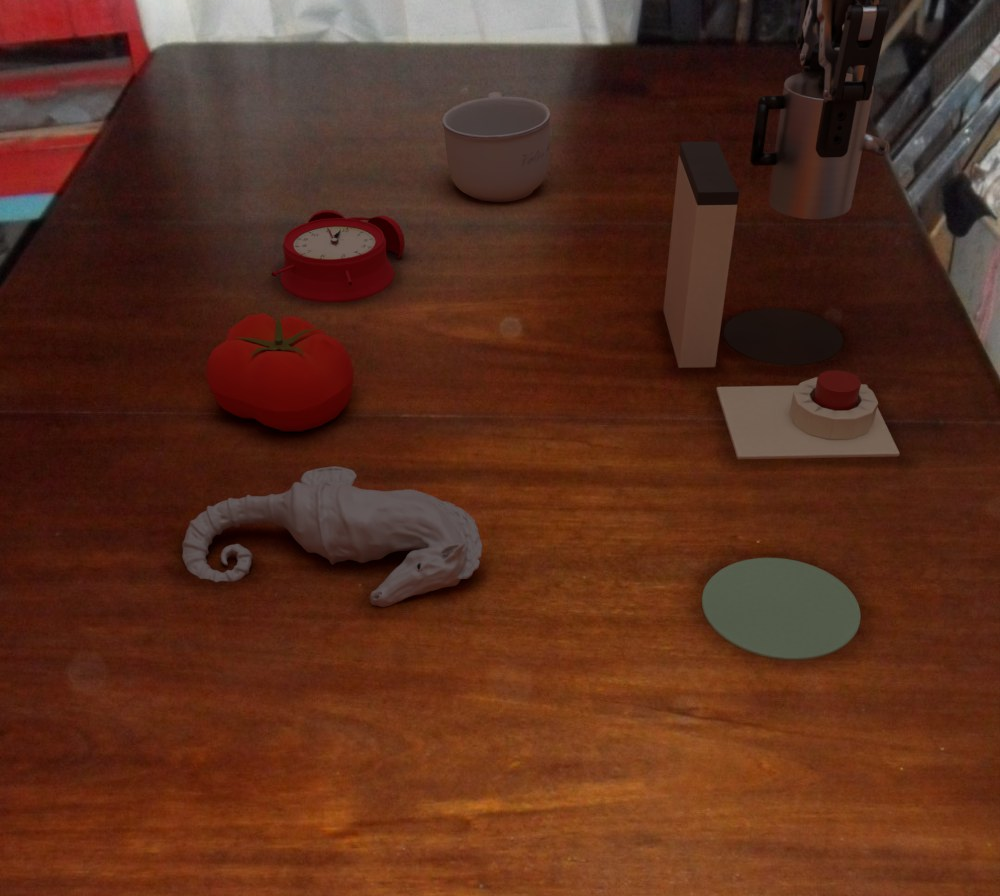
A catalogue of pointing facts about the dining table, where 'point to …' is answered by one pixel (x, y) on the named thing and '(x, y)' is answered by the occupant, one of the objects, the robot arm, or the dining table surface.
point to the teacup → (498, 146)
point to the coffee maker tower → (699, 252)
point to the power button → (837, 390)
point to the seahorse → (349, 532)
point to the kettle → (810, 151)
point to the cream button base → (802, 424)
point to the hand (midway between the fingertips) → (819, 137)
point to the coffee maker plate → (783, 337)
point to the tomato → (281, 373)
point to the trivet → (781, 609)
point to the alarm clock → (340, 257)
